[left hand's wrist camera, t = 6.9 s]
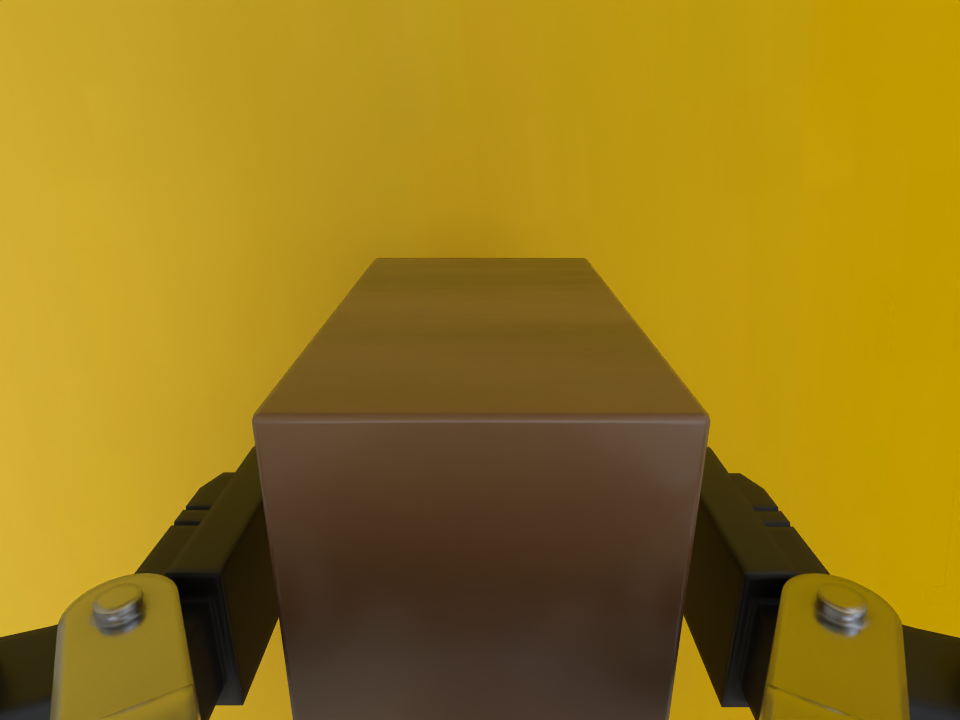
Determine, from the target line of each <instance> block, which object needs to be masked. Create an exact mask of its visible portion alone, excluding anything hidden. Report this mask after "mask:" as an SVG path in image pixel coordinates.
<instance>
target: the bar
mask: <svg viewBox="0 0 960 720" xmlns="http://www.w3.org/2000/svg"><path fill="white" fill-rule="evenodd" d="M252 424H253V431H254V439H255V446H256V453H257V461H258V468H259V475H260V482H261V490H262V497H263V504H264V512H265V519H266V526H267V533H268V541H269V548H270V555H271V563H272V570H273V577H274V584H275V592H276V599H277V606H278V614H279V621H280V628H281V635H282V643H283V650H284V657H285V664H286V672H287V679H288V686H289V694H290V701H291V708H292V715H293V720H669V713H670V705H671V698H672V691H673V684H674V677H675V670H676V663H677V655H678V648H679V641H680V634H681V627H682V620H683V612H684V605H685V598H686V591H687V584H688V577H689V570H690V562H691V555H692V548H693V541H694V534H695V527H696V520H697V512H698V505H699V498H700V491H701V484H702V477H703V469H704V462H705V455H706V448H707V441H708V434H709V427H710V418H709V415H708V413H707V412H706V411H705V410H704V408H703V407H702V406H701V404H700V403H699V402H698V401H697V399H696V398H695V397H694V396H693V394H692V393H691V392H690V390H689V389H688V388H687V387H686V385H685V384H684V383H683V382H682V380H681V379H680V378H679V376H678V375H677V374H676V373H675V371H674V370H673V369H672V368H671V366H670V365H669V364H668V362H667V361H666V360H665V359H664V357H663V356H662V355H661V354H660V352H659V351H658V350H657V348H656V347H655V346H654V345H653V343H652V342H651V341H650V339H649V338H648V337H647V336H646V334H645V333H644V332H643V331H642V329H641V328H640V327H639V325H638V324H637V323H636V322H635V320H634V319H633V318H632V317H631V315H630V314H629V313H628V311H627V310H626V309H625V308H624V306H623V305H622V304H621V303H620V301H619V300H618V299H617V297H616V296H615V295H614V294H613V292H612V291H611V290H610V289H609V287H608V286H607V285H606V283H605V282H604V281H603V280H602V278H601V277H600V276H599V275H598V273H597V272H596V271H595V269H594V268H593V267H592V266H591V264H590V263H589V262H588V260H587V259H584V258H377V259H375V260H374V261H373V263H372V264H371V265H370V266H369V268H368V269H367V270H366V271H365V273H364V274H363V275H362V277H361V278H360V279H359V280H358V282H357V283H356V284H355V286H354V287H353V288H352V289H351V291H350V292H349V293H348V294H347V296H346V297H345V298H344V300H343V301H342V302H341V303H340V305H339V306H338V307H337V309H336V310H335V311H334V312H333V314H332V315H331V316H330V318H329V319H328V320H327V321H326V323H325V324H324V325H323V326H322V328H321V329H320V330H319V332H318V333H317V334H316V335H315V337H314V338H313V339H312V341H311V342H310V343H309V344H308V346H307V347H306V348H305V349H304V351H303V352H302V353H301V355H300V356H299V357H298V358H297V360H296V361H295V362H294V364H293V365H292V366H291V367H290V369H289V370H288V371H287V372H286V374H285V375H284V376H283V378H282V379H281V380H280V381H279V383H278V384H277V385H276V387H275V388H274V389H273V390H272V392H271V393H270V394H269V395H268V397H267V398H266V399H265V401H264V402H263V403H262V404H261V406H260V407H259V408H258V410H257V411H256V412H255V413H254V415H253V418H252Z"/></svg>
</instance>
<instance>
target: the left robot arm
mask: <svg viewBox="0 0 960 720" xmlns="http://www.w3.org/2000/svg"><path fill="white" fill-rule="evenodd" d="M683 615H684V617H685V619H686V622H687V624H688V627H689V629H690V632H691V634H692V636H693V639H694V641H695V644H696V646H697V648H698V651H699V653H700V656H701V658H702V661H703V663H704V665H705V668H706V670H707V673H708V675H709V677H710V680H711V682H712V685H713V687H714V690H715V692H716V694H717V697H718V699H719V702H720V704H721V706H722V707H750V709H751V711H752V714H753V716H754V718H755V720H960V638H958V637H953V636H949V635H944V634H939V633H935V632H930V631H926V630H921V629H917V628H913V627H909V626H905V625H902V624H901V620H900V618H899V616H898V615H897V613H896V612H895V610H894V609H893V608H892V607H891V606H890V605H889V604H888V603H887V602H886V601H885V600H884V599H882V598H881V597H880V596H879V595H877V594H876V593H874V592H873V591H871V590H869V589H868V588H866V587H864V586H862V585H860V584H857V583H855V582H853V581H850V580H847V579H844V578H841V577H837V576H833V575H830V574H829V572H828V571H827V570H826V569H825V567H824V566H823V565H822V563H821V562H820V561H819V560H818V558H817V557H816V556H815V554H814V553H813V552H812V551H811V549H810V548H809V547H808V545H807V544H806V543H805V541H804V540H803V539H802V538H801V536H800V535H799V534H798V532H797V531H796V530H795V529H794V527H790V522H789V521H788V520H787V518H786V517H785V516H784V514H783V513H782V512H781V511H778V507H777V505H776V504H775V503H774V501H773V500H772V499H771V498H770V496H769V495H768V494H767V492H766V491H765V490H764V489H763V488H761V487H760V486H758V485H757V484H755V483H754V482H752V481H751V480H749V479H748V478H746V477H745V476H743V475H742V474H740V473H728V472H727V470H726V469H725V468H724V466H723V465H722V463H721V462H720V461H719V459H718V458H717V456H716V455H715V454H714V452H713V451H712V449H711V448H710V447H707V448H706V455H705V462H704V469H703V477H702V484H701V491H700V498H699V505H698V512H697V520H696V527H695V534H694V541H693V548H692V555H691V562H690V570H689V577H688V584H687V591H686V598H685V605H684V612H683ZM278 618H279V614H278V606H277V599H276V592H275V584H274V577H273V570H272V563H271V555H270V548H269V541H268V533H267V526H266V519H265V512H264V504H263V497H262V490H261V482H260V475H259V468H258V461H257V453H256V446H254V447H253V448H252V449H251V451H250V452H249V454H248V455H247V457H246V458H245V459H244V461H243V462H242V464H241V465H240V467H239V468H238V469H237V471H236V472H235V473H222V474H221V475H219V476H218V477H216V478H215V479H213V480H212V481H210V482H209V483H207V484H206V485H204V486H203V487H201V488H200V489H199V490H198V491H197V493H196V494H195V495H194V497H193V498H192V499H191V501H190V502H189V503H188V504H187V506H186V510H183V511H182V512H181V514H180V515H179V516H178V518H177V519H176V520H175V521H174V526H171V527H170V528H169V529H168V531H167V532H166V533H165V535H164V536H163V537H162V538H161V540H160V541H159V542H158V544H157V545H156V546H155V548H154V549H153V550H152V551H151V553H150V554H149V555H148V557H147V558H146V559H145V561H144V562H143V563H142V565H141V566H140V567H139V568H138V570H137V571H136V572H135V574H132V575H127V576H123V577H119V578H116V579H113V580H110V581H107V582H105V583H103V584H100V585H98V586H96V587H94V588H92V589H91V590H89V591H87V592H86V593H84V594H83V595H81V596H80V597H79V598H78V599H76V600H75V601H74V602H73V603H72V604H71V605H70V606H69V607H68V608H67V609H66V610H65V612H64V613H63V615H62V616H61V618H60V620H59V624H58V625H54V626H50V627H46V628H41V629H36V630H32V631H27V632H23V633H18V634H14V635H9V636H5V637H0V720H209V718H210V716H211V714H212V712H213V709H214V707H215V705H243V704H244V701H245V699H246V696H247V694H248V691H249V689H250V686H251V684H252V682H253V679H254V677H255V674H256V672H257V669H258V667H259V664H260V662H261V659H262V657H263V655H264V652H265V650H266V647H267V645H268V642H269V640H270V637H271V635H272V632H273V630H274V628H275V625H276V623H277V620H278Z"/></svg>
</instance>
